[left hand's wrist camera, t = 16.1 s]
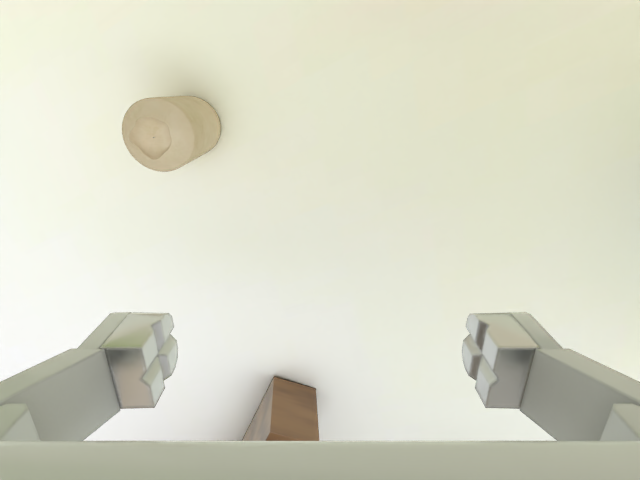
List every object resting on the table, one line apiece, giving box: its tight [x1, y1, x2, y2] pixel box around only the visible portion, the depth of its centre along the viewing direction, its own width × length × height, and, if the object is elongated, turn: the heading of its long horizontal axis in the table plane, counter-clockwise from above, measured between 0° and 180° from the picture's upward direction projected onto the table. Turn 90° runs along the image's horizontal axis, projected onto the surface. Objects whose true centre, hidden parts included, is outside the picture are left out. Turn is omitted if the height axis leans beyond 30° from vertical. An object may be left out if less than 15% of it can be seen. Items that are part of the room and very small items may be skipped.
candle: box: [122, 96, 221, 172], centre depth 32 cm, size 6×6×10 cm
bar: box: [242, 377, 319, 441], centre depth 50 cm, size 27×6×8 cm, turn 156°
